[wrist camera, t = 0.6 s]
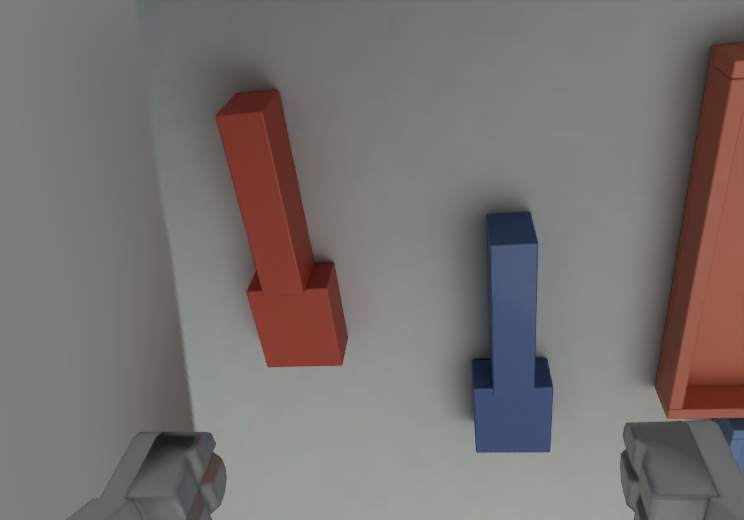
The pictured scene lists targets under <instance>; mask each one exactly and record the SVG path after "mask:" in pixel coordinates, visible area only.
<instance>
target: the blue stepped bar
mask: <svg viewBox="0 0 744 520" xmlns="http://www.w3.org/2000/svg"><path fill="white" fill-rule="evenodd" d="M486 218H487V256H488V294H489V332H490V360H473V361H472V382H473V402H474V423H475V442H476V452H550V445H551V424H552V403H553V384H552V379H551V374H550V370H549V365H548V360H547V359H535V349H536V309H537V269H538V241H537V237H536V233H535V229H534V225H533V221H532V216H531V213H530V212H526V213H509V214H493V215H487V216H486Z"/></svg>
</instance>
